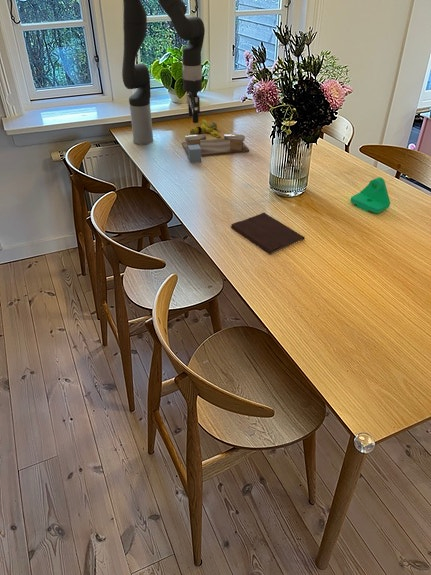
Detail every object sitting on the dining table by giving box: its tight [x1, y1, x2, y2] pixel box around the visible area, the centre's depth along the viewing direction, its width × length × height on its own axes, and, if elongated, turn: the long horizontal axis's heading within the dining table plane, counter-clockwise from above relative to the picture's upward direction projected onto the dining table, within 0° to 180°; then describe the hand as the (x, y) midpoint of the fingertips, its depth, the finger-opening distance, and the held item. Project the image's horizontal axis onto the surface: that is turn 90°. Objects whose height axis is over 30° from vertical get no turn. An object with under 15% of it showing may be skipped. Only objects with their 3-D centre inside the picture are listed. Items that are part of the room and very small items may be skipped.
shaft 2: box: [223, 133, 246, 142], centre depth 201 cm, size 2×9×2 cm, turn 79°
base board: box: [181, 133, 250, 157], centre depth 204 cm, size 16×28×6 cm, turn 104°
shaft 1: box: [184, 133, 207, 142], centre depth 201 cm, size 2×9×2 cm, turn 104°
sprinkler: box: [189, 117, 222, 139], centre depth 220 cm, size 19×4×15 cm
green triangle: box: [349, 176, 391, 214], centre depth 160 cm, size 12×8×10 cm, turn 41°
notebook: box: [230, 212, 306, 255], centre depth 148 cm, size 15×20×2 cm
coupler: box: [187, 144, 202, 164], centre depth 193 cm, size 5×5×6 cm
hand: (193, 119), depth 184 cm, fingers open, 8 cm apart
